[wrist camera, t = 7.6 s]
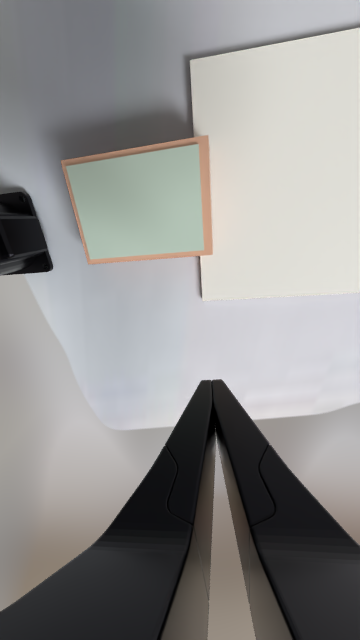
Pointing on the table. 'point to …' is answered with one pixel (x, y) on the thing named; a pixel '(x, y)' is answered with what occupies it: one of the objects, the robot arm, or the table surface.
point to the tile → (143, 201)
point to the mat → (282, 167)
